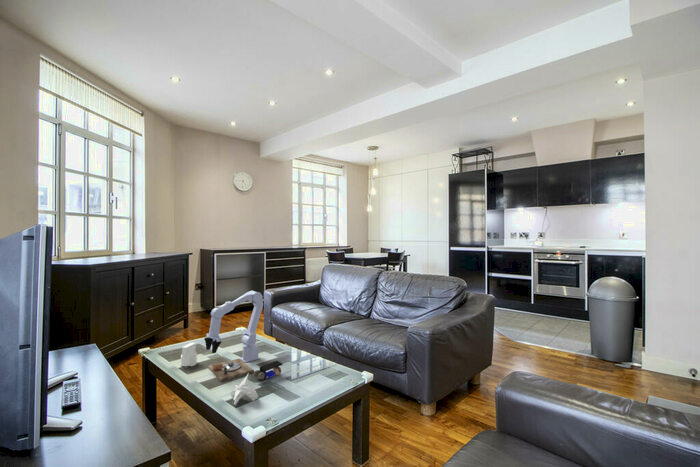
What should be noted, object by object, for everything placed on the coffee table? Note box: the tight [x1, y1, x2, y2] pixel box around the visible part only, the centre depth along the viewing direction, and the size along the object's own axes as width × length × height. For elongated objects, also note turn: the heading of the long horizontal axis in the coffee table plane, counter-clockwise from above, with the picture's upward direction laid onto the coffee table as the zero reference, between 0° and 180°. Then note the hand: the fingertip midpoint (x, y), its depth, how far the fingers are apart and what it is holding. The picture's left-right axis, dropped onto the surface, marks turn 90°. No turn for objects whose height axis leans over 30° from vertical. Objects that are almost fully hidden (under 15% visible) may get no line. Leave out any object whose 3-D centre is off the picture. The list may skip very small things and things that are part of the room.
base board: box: [207, 358, 255, 382], centre depth 194 cm, size 19×23×5 cm
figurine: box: [230, 373, 259, 406], centre depth 159 cm, size 14×11×13 cm
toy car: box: [253, 360, 284, 383], centre depth 183 cm, size 7×8×15 cm
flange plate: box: [212, 362, 240, 372], centre depth 193 cm, size 16×11×3 cm
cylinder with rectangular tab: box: [180, 342, 198, 367], centre depth 203 cm, size 9×9×12 cm
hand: (211, 351), depth 195 cm, fingers open, 7 cm apart
